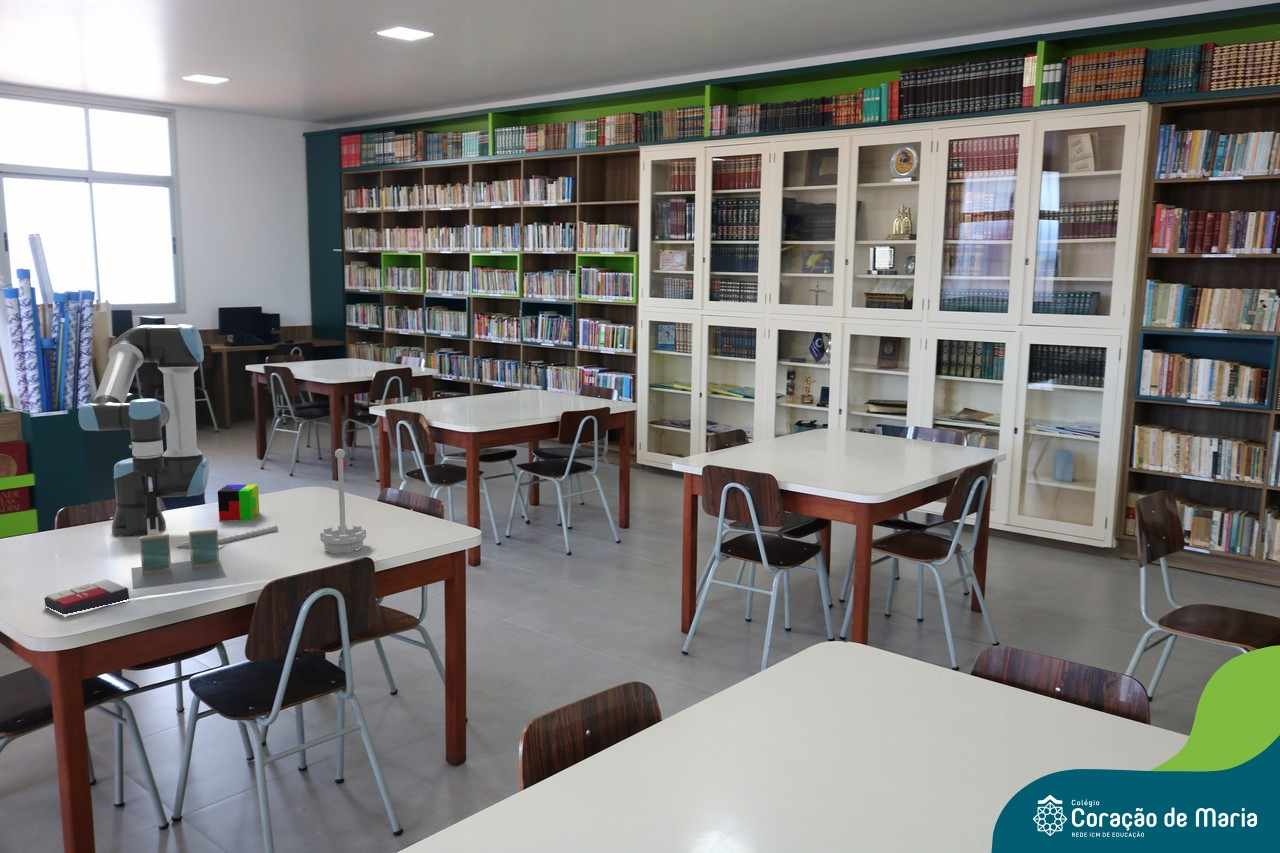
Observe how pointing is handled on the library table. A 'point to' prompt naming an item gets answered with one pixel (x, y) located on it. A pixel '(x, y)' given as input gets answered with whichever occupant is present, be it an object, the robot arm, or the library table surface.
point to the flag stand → (342, 521)
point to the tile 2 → (204, 548)
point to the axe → (238, 536)
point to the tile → (155, 554)
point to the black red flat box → (87, 597)
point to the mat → (176, 575)
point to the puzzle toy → (238, 502)
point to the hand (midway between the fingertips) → (153, 539)
